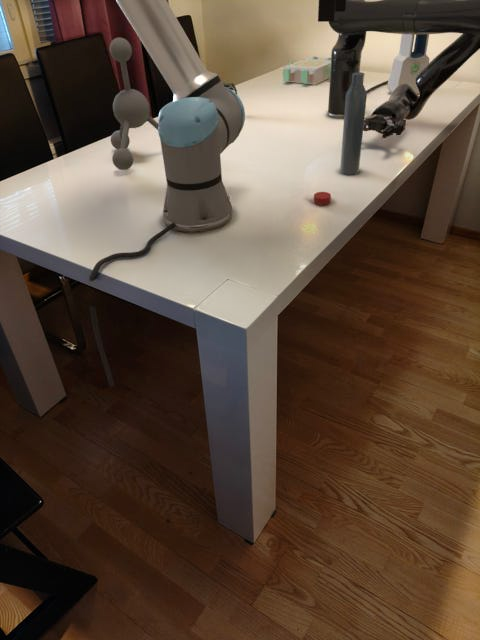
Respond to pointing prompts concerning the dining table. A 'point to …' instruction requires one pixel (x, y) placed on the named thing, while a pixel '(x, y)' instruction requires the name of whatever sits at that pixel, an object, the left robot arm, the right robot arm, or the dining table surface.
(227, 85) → the grenade
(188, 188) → the left robot arm
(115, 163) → the molecular model
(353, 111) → the bottle
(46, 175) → the dining table surface
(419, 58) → the electronic device
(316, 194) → the cap
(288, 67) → the decorative block
